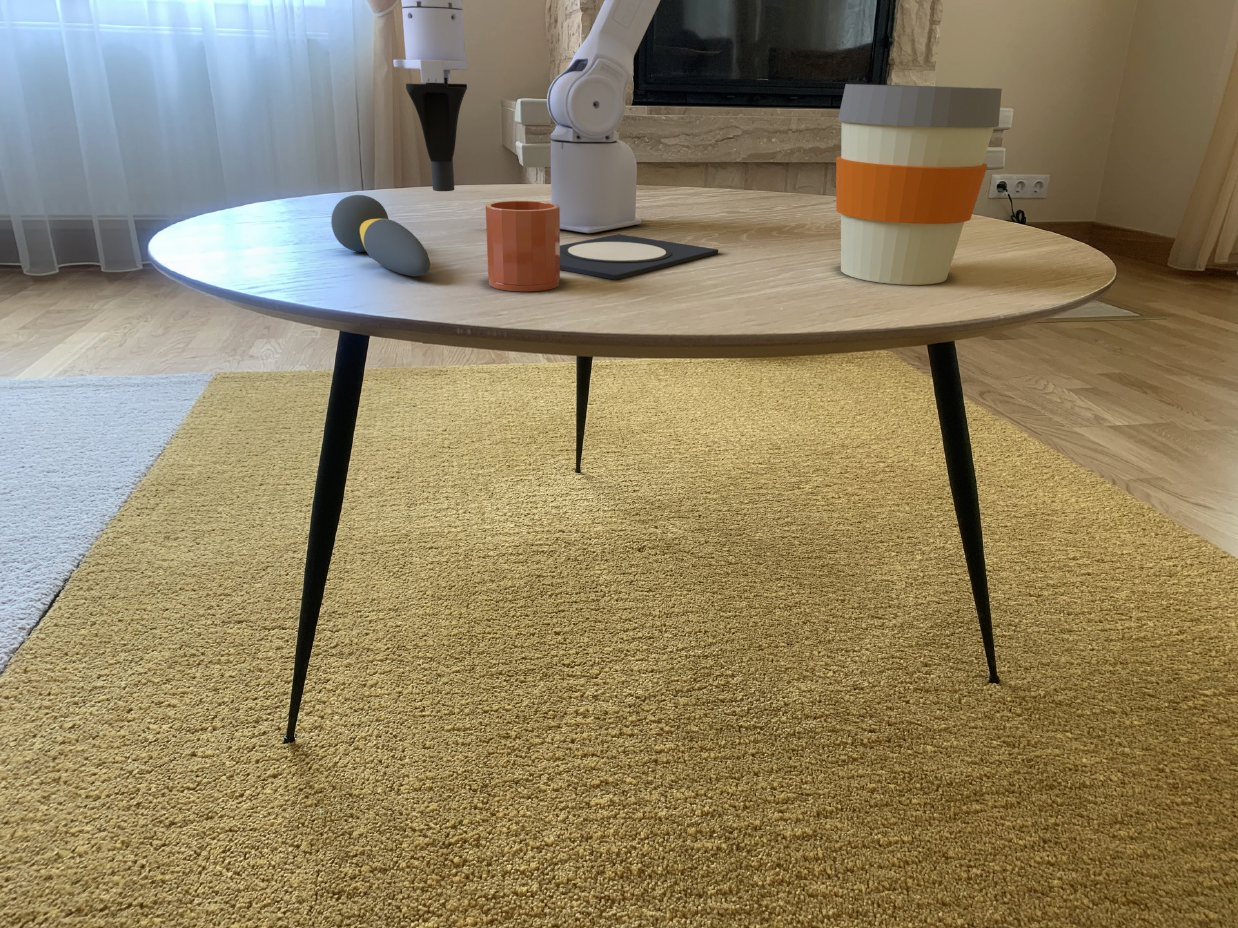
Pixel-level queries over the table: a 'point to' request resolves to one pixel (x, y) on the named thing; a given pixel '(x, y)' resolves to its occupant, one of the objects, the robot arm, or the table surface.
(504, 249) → the pen pot
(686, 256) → the dark grey rectangular pad
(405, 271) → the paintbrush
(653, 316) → the table surface
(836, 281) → the table surface
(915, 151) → the reusable coffee cup
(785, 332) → the table surface
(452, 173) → the marker
